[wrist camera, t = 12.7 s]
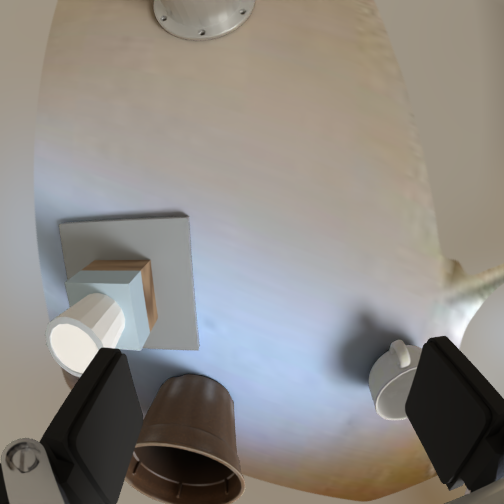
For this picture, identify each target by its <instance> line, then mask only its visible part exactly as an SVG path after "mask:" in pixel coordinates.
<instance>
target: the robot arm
mask: <svg viewBox="0 0 504 504" xmlns="http://www.w3.org/2000/svg"><path fill="white" fill-rule="evenodd" d="M153 5H154V13H155V17H156V19H157V20H158V22H159V24H160V25H161V26H162V27H163V29H165V30H166V31H167V32H168V33H170V34H172V35H174V36H176V37H178V38H182V39H185V40H193V41H201V40H210V39H215V38H218V37H221V36H224V35H226V34H228V33H230V32H232V31H234V30H235V29H237V28H238V27H240V26H241V25H242V24H243V23H244V22H245V21H246V20H247V19H248V17H249V16H250V14H251V13H252V10H253V7H254V5H255V0H154V3H153ZM242 13H244V15H242ZM164 20H166V21H164ZM203 33H204V35H201V34H203ZM405 413H406V415H407V417H408V419H409V420H410V422H411V424H412V426H413V428H414V430H415V432H416V434H417V435H418V437H419V439H420V441H421V443H422V445H423V447H424V449H425V451H426V453H427V455H428V457H429V459H430V461H431V463H432V464H433V466H434V468H435V470H436V472H437V474H438V476H439V478H440V480H441V482H442V483H443V484H446V485H447V487H448V489H449V491H450V490H453V489H455V488H458V487H460V486H462V485H463V484H464V483H465V485H466V487H467V489H466V492H465V495H464V496H462V497H460V498H457V499H455V500H452V501H450V502H447V503H445V504H504V399H503V398H502V396H501V395H500V394H499V393H498V392H497V391H496V390H495V388H494V387H493V386H492V385H491V384H490V383H489V382H488V380H487V379H486V378H485V377H484V376H483V375H482V374H481V373H480V372H479V370H478V369H477V368H476V367H475V366H474V365H473V364H472V363H471V362H470V361H469V360H468V359H467V358H466V356H465V355H464V354H463V353H462V352H461V351H460V350H459V349H458V348H457V347H456V346H455V345H454V344H453V343H452V342H451V341H450V340H449V339H448V338H447V337H446V336H440V337H434V338H430V339H429V340H428V341H427V343H425V344H424V345H423V348H422V352H421V355H420V359H419V362H418V366H417V369H416V373H415V376H414V379H413V382H412V385H411V388H410V391H409V394H408V397H407V400H406V403H405ZM142 425H143V414H142V411H141V408H140V405H139V401H138V398H137V394H136V391H135V387H134V384H133V380H132V376H131V373H130V369H129V365H128V361H127V357H126V355H125V354H121V351H120V350H119V349H116V348H104V347H102V348H100V349H99V351H98V352H97V354H96V355H95V356H94V358H93V359H92V361H91V362H90V364H89V365H88V367H87V368H86V370H85V371H84V373H83V374H82V376H81V377H80V378H79V380H78V381H77V383H76V384H75V386H74V388H73V389H72V391H71V392H70V394H69V395H68V397H67V398H66V400H65V401H64V403H63V405H62V406H61V408H60V409H59V411H58V413H57V414H56V415H55V417H54V419H53V420H52V422H51V423H50V425H49V427H48V428H47V430H46V432H45V433H44V435H43V437H42V439H41V440H40V442H38V441H36V440H33V439H29V438H22V439H17V440H15V441H13V442H11V443H10V444H8V445H7V446H6V448H5V449H4V450H3V452H2V455H1V464H0V504H116V503H117V501H118V498H119V495H120V492H121V489H122V486H123V482H124V479H125V476H126V473H127V470H128V467H129V464H130V461H131V458H132V455H133V452H134V449H135V446H136V443H137V440H138V437H139V434H140V431H141V429H142Z"/></svg>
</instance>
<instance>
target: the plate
mask: <svg viewBox="0 0 504 504" xmlns="http://www.w3.org/2000/svg"><path fill="white" fill-rule="evenodd" d="M59 230H60V237H61V244H62V250H63V256H64V262H65V268H66V273H67V278H68V280H69V279H70V278H71V277H73V276H74V275H75V274H77V273H78V272H79V271H81V270H82V269H83V268H85V267H86V266H87V265H89V264H90V263H91V262H93V261H94V260H151V268H152V276H153V284H154V292H155V300H156V307H157V314H158V319H157V321H156V323H155V325H154V326H153V328H152V330H151V332H150V334H149V336H148V338H147V340H146V342H145V344H144V346H143V348H148V349H169V350H199V346H200V344H199V335H198V325H197V315H196V304H195V293H194V281H193V268H192V255H191V240H190V223H189V216H180V217H154V218H132V219H113V220H95V221H79V222H64V223H61V224H59Z"/></svg>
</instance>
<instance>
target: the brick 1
mask: <svg viewBox="0 0 504 504" xmlns="http://www.w3.org/2000/svg"><path fill="white" fill-rule="evenodd" d="M82 270H89V271H141V277H142V284H143V291H144V298H145V305H146V311H147V317H148V323H149V329H150V332H151V330H152V328H153V326H154V325H155V323H156V321H157V319H158V314H157V307H156V300H155V292H154V284H153V276H152V268H151V260H94V261H93V262H91V263H90V264H89V265H87V266H86V267H85V268H83V269H82Z"/></svg>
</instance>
